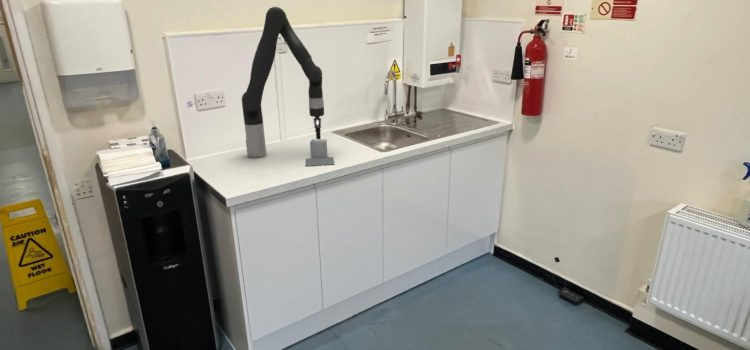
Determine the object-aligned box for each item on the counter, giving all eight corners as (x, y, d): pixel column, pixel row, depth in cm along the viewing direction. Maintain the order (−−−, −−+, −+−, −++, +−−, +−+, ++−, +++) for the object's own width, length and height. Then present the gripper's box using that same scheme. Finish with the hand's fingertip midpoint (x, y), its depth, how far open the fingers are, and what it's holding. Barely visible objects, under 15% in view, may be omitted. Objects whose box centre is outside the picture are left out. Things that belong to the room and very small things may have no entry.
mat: (305, 166, 223) (305, 165, 223) (305, 159, 234) (305, 158, 233) (334, 164, 225) (334, 164, 225) (333, 157, 235) (333, 156, 235)
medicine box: (327, 155, 239) (326, 139, 236) (326, 158, 235) (325, 141, 232) (312, 155, 240) (311, 139, 237) (310, 158, 235) (309, 141, 232)
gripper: (309, 103, 242) (311, 135, 248) (308, 109, 230) (311, 142, 236) (323, 103, 243) (325, 135, 249) (324, 108, 230) (326, 142, 237)
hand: (318, 138), depth 242 cm, fingers closed
